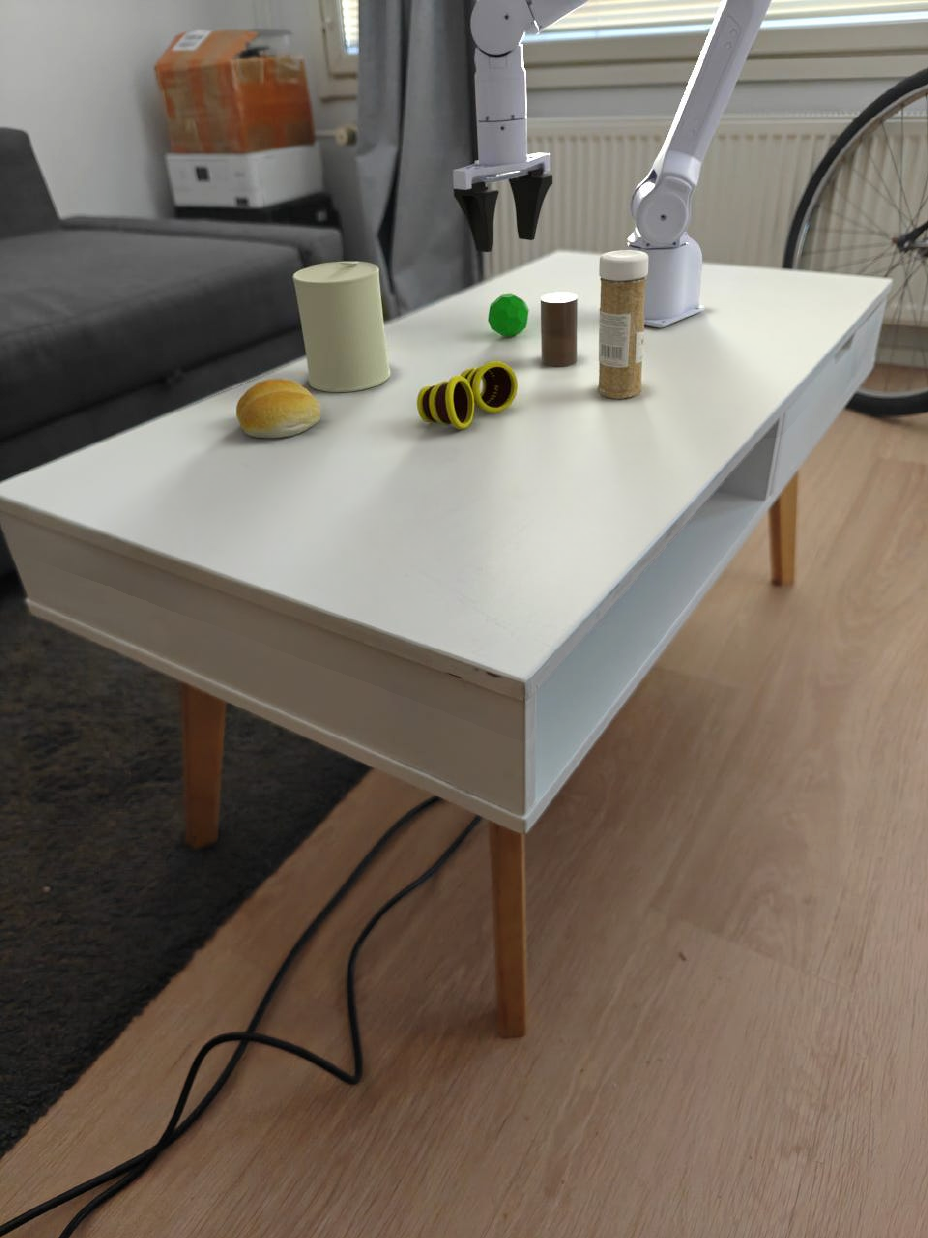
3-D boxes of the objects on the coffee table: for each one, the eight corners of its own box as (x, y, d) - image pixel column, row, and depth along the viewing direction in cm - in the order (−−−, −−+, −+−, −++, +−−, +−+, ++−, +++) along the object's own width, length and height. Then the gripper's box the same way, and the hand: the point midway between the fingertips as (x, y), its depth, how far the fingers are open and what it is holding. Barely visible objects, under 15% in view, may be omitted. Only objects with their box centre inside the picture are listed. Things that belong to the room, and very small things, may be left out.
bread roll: (248, 447, 85) (239, 407, 83) (235, 417, 92) (226, 379, 90) (331, 431, 87) (325, 391, 85) (312, 402, 95) (306, 365, 92)
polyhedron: (481, 334, 111) (479, 294, 108) (515, 326, 113) (513, 287, 110) (502, 343, 107) (501, 303, 105) (536, 335, 109) (536, 295, 107)
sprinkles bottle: (651, 392, 91) (659, 253, 83) (617, 403, 89) (622, 261, 81) (620, 381, 94) (625, 246, 87) (587, 391, 92) (589, 254, 85)
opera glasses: (485, 404, 93) (476, 356, 91) (522, 405, 89) (514, 355, 87) (419, 434, 88) (407, 383, 85) (456, 436, 84) (444, 383, 82)
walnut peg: (557, 353, 103) (557, 290, 99) (584, 359, 101) (585, 295, 97) (534, 362, 101) (533, 298, 97) (561, 369, 98) (561, 304, 95)
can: (405, 368, 102) (394, 257, 95) (364, 395, 95) (349, 279, 89) (336, 361, 106) (321, 255, 99) (293, 388, 99) (273, 275, 92)
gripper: (518, 111, 108) (521, 230, 116) (431, 125, 100) (440, 252, 108) (563, 111, 104) (563, 235, 112) (475, 126, 96) (481, 259, 104)
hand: (505, 244), depth 110 cm, fingers open, 7 cm apart
